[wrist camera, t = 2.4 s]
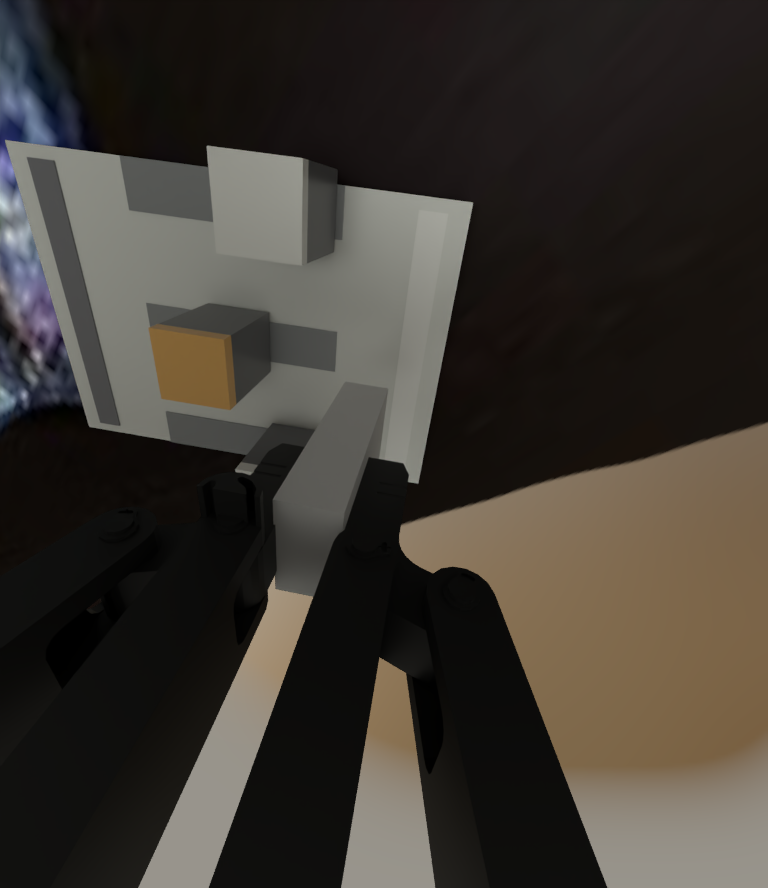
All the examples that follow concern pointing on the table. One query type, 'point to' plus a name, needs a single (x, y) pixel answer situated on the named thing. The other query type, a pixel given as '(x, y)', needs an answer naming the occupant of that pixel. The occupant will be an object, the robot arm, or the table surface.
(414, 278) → the panel
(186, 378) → the block
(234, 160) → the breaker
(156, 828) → the robot arm
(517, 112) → the table surface
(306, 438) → the block
